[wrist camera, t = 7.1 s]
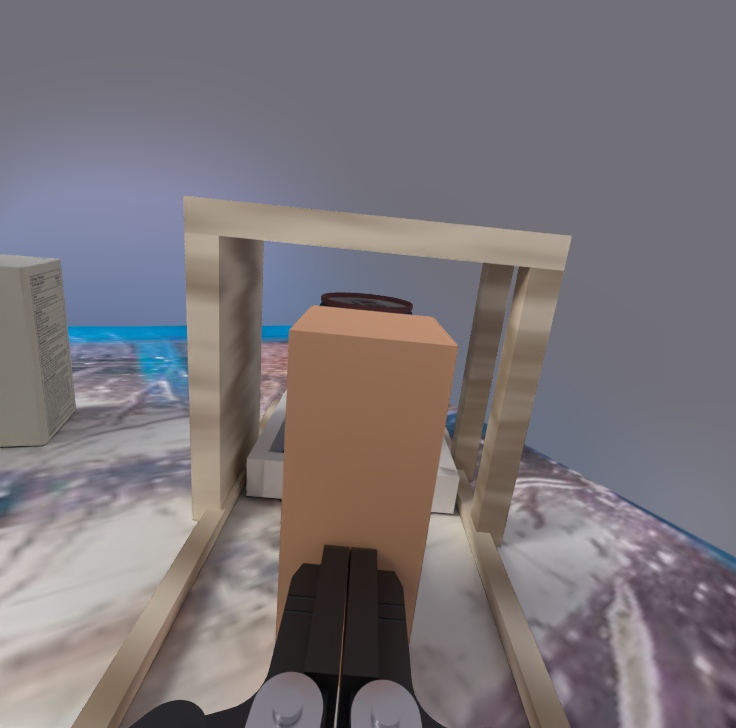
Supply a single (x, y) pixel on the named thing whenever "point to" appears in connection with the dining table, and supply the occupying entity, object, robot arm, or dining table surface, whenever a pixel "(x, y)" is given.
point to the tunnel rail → (242, 401)
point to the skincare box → (33, 351)
